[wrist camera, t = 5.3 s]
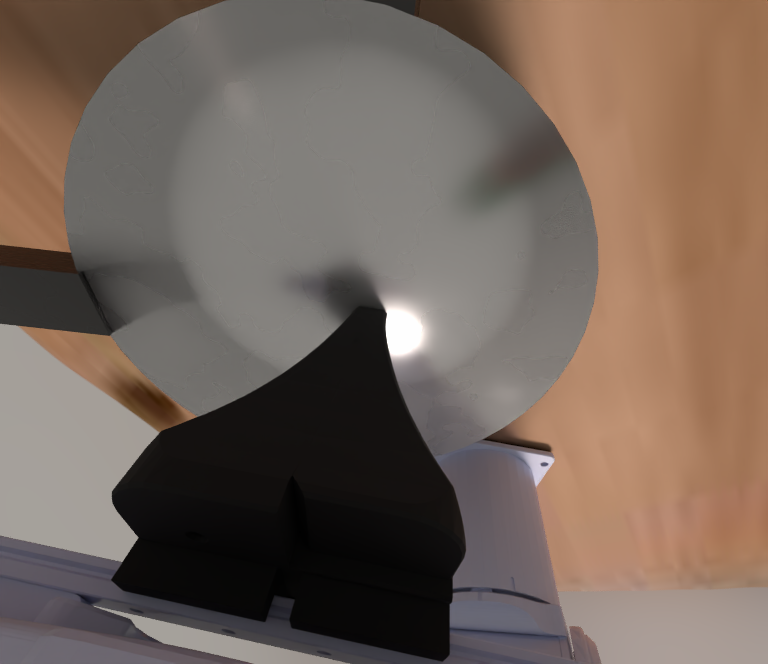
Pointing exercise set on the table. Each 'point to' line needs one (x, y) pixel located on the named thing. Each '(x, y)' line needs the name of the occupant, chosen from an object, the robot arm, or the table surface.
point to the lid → (320, 213)
